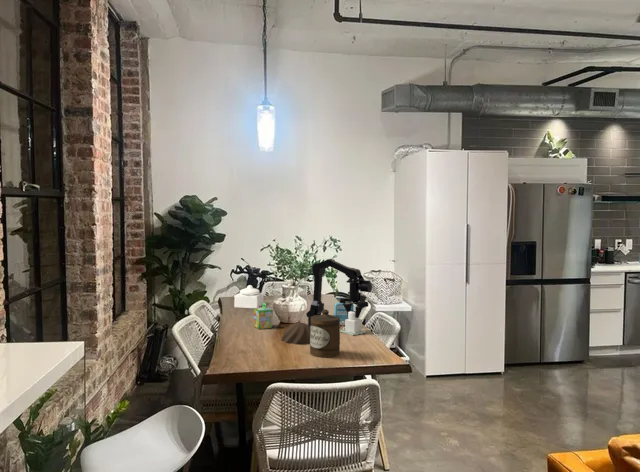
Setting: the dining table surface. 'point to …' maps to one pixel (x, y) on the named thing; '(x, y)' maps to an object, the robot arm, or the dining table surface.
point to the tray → (352, 333)
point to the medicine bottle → (352, 323)
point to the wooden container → (325, 335)
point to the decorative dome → (297, 334)
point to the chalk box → (263, 317)
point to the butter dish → (249, 298)
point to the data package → (341, 311)
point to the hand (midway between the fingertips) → (353, 316)
